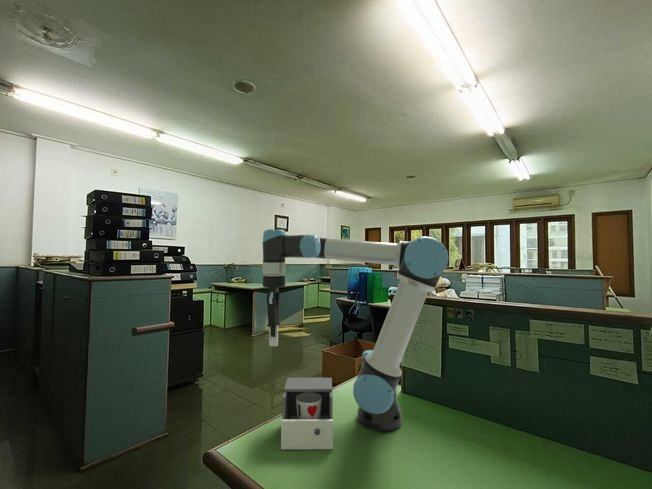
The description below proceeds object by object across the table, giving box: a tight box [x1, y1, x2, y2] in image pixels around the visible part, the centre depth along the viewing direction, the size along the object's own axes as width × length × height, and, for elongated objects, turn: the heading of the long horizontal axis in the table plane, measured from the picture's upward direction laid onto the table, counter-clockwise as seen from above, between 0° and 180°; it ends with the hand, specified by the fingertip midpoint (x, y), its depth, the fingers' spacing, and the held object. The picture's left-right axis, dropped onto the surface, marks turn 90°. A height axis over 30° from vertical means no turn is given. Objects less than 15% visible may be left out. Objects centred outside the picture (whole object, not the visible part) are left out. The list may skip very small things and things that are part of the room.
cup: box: [296, 392, 322, 419], centre depth 96 cm, size 8×8×10 cm
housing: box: [281, 377, 334, 420], centre depth 97 cm, size 14×15×15 cm
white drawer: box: [280, 415, 334, 450], centre depth 96 cm, size 14×15×8 cm
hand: (273, 345), depth 103 cm, fingers closed
